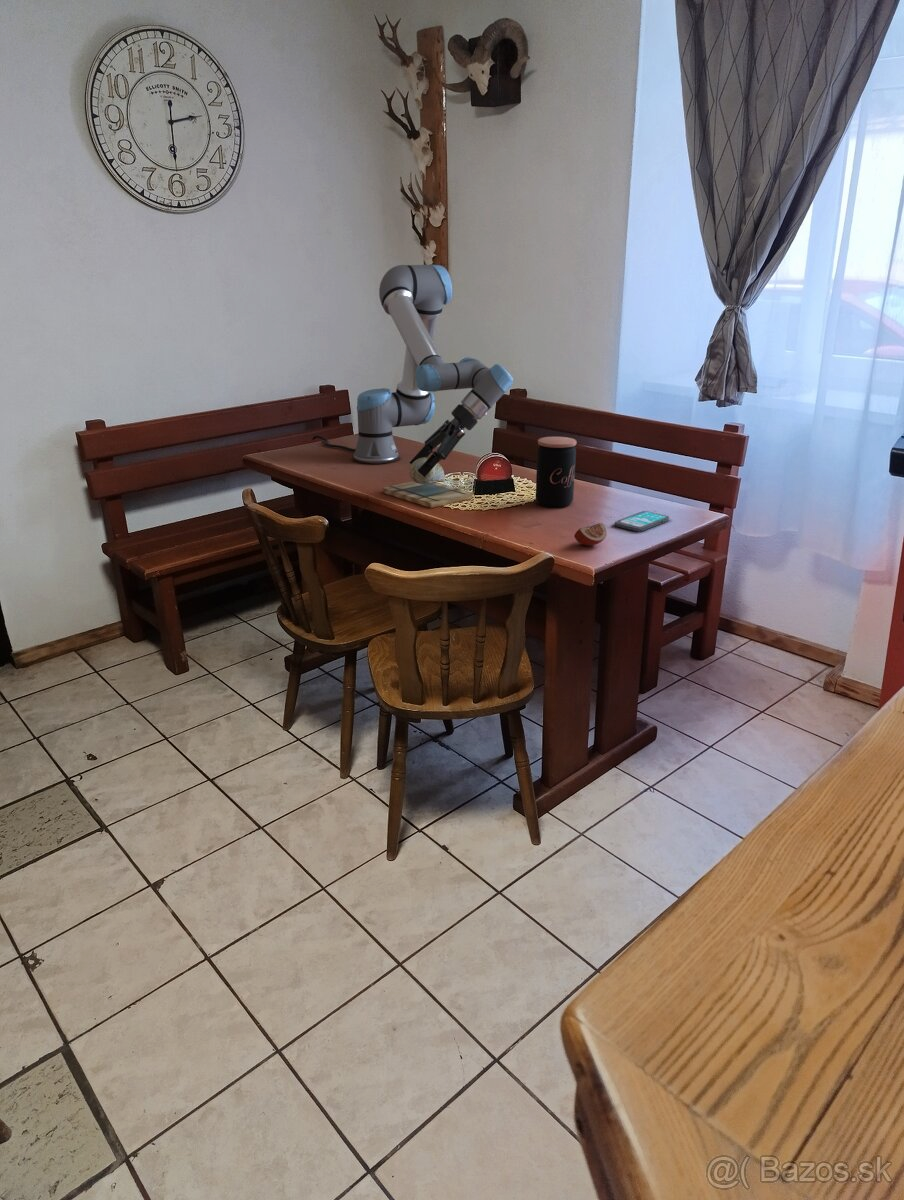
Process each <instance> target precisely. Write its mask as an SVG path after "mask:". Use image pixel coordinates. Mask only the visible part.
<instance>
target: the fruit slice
mask: <svg viewBox="0 0 904 1200" xmlns="http://www.w3.org/2000/svg"><path fill="white" fill-rule="evenodd" d="M607 534H608V533H607V529H606V527H605V525H604V524H603V522H599V523H595V524H593V525H592V526H589V525H587V526H583V527H580V528H578V530H576V532H575V533H574V535H573V537H574V539H575V540H576V541H577V543H579V544H581V545H583V546H596V545H598V544H601V542H603V541H604V540H605V539H606V537H607Z"/></svg>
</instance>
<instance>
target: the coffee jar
mask: <svg viewBox="0 0 904 1200" xmlns="http://www.w3.org/2000/svg"><path fill="white" fill-rule="evenodd" d="M577 443H578V442H577V439H574V438H573V437H567V436H544V437H540V438H539V439H538V440H537V444H538V446H539V447H537V450H536V476H535V477H536V478H535V501H536V503H537V504H538V505H539V506H541V507H545V508H550V509H561V508H567V507H570V506H571V504H572V503H573V501H574V495H575V493H574V492H575V477H576V458H577V449H576V447H575V446H576V445H577Z"/></svg>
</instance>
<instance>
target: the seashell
mask: <svg viewBox="0 0 904 1200" xmlns="http://www.w3.org/2000/svg"><path fill="white" fill-rule="evenodd" d="M428 458H429V456H428V457H424V458H419V459H417V460H415V461H414V462H413V463H412V464H410V468H409V476H410V479H411V481H415V482H416V483H418V484H427V483H429V482H430V481H433V482H437V483H440V482H441V483H444V482H445V481H446V477H445V475H446V474H445V472H444V469H443V467H442V465H441V464H440V463H439V462H438V463H437V464H436V465H435V466H434V467H433V469H432V470H431V471H430V472H429V473H428V474H427V475H426V476H425V477H424V476H423V475H421V474H420V473H419V472H418V471H417V470H418V469H419V468H420V467H421V466H422V465H423V464H424V463H425V462H426V460H427V459H428Z"/></svg>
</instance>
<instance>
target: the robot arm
mask: <svg viewBox="0 0 904 1200" xmlns="http://www.w3.org/2000/svg"><path fill="white" fill-rule="evenodd" d="M452 282H453V281H452V279H451V276H450V274H449V271H448V269H447V268H445V266H443V265H438V264H433V263H432V264H431V263H430V264H399V265H398V264H397V265H395V266H393V267H391V268H390V269H388V270H387V271H386V272H385V273H384V275H383V277H382V278H381V280H380V284H379V288H378V289H379V290H378V291H379V292H378V295H379V296H378V297H379V301H380V305H381V307H382V309H383V310H384V312H385V313H386V314H387V315H389V316H390V317H391V318H392V321H393V322H394V325H395V326H396V329H397V331H398V332H399V334H400V336H401V338H402V340H403V342H404V344H405V353H404V360H403V368H402V376H401V380H400V381H399V382H398V383H397V384H396V389H395V391H394V392H392V390H391V389H390V388H385V387H381V388H373V389H367V390H365V391H362V392H360V393H359V394H358V395H357V398H356V399H357V400H356V401H357V402H356V411H357V431H358V433H357V434H358V437H357V438H358V439H357V442H356V446H355V448H351V447H348V446H345V445H341V444H331V443H329V440H328V439H327V438H326V437H323V436H322V435H318V434H316V435H313V437H312V438H311V439H312V440H316V439H320V440H322V441H324V443H323V444H324V446H325V447H327V448H328V447H329V448H338V449H342V450H346V451H349V452H354V454H353V458H354V461H355V462H357V463H359V464H366V465H367V464H368V465H369V464H370V465H381V464H389V463H394V462H396V461H398V460H399V452H398V448H397V446H396V442H395V440H394V437H393V428H400V427H411V426H420V425H424V424H427V423H429V422H430V421H431V420H432V418H433V416H434V415H435V410H436V403H435V401H436V399H435V396H434V394H433V393H435V392H441V391H442V392H443V391H452V390H454V391H455V390H466V389H471V390H470V391H469V392H468V393H467V394H466V395H465V396H464V397H463V398H462V400H461V401H460V403H461V404H460V403H459V404H457V405H456V406H455V408H454V409H452V411H451V415H452V417H453V419H451V420H449V419H446V420H445V421H444V423H442V425H441V426H440V427H439V428H438V429H437V430H435V431H434V432H433V433H432V434H431V435H430V436H429V437H428V438H427V439H426V440H425V441H424V443H423V444H424V445H423V447H422V448H421V449H420V450H419V451H418V452H417V454H416V455H415V456H414V457H413V458H412V459H411V460H410V461H409V464H410V465H412V463H413V462H414V461H415V460H417V459H419V458H424V457H428V459H427V460H426V462H425V463H424V464H423V465H422V466H421V467H420V468H419V469H418V470H417V471H418V472H419V473H420V474H421V475H423V476H424V477H425V476H426V475H427V474H428V473H429V472H430V471H431V470H432V469H433V467H434V466H435V465H436V464H437V463H439V462H440V461H442V460H443V461H445V460H446V459H447V458H448V456H449V455H450V454H451V453H452V451H453V450H454V448H455V447H456V446H457V444H458V443H459V442H460V441H461V440H462V439H463V437H464V436H465V435H466V432H465V431H464V429H466V430H467V431H471V430H472V429H473V428H474V427H475V426H476V425H477V424H478V420H481V419H483V417H484V416H487V415H488V412H489V410H490V409H492V407H494V405H495V404H496V403H497V402H498V401H499V400H500V399H501V398H502V397H503V396H504V394H505V393H507V391H508V390H509V389H510V388H511V386H513V383H514V378H513V376H512V375H511V374H510V373H509V372H508V371H507V369H506V368H505V367H503V366H502V365H500V364H498V363H494V365H492V366H491V367H490V368H489V367H488V366H487V365H485V364H484V363H483V362H482V361H480V360H479V359H476V358H474V357H472V356H466V357H464V358H462V359H461V360H459V362H445V361H444V360H443V357H442V356H441V354H440V353H439V352H440V351H439V350H438V348H437V347H436V344H435V343H434V339H435V330H436V323H437V317H438V316H440V315H442V312H443V308H444V305H445V306H446V305H448V304H449V303H450V302H451V300H452V297H453V283H452ZM435 448H437V449H436V450H434V449H435Z"/></svg>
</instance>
